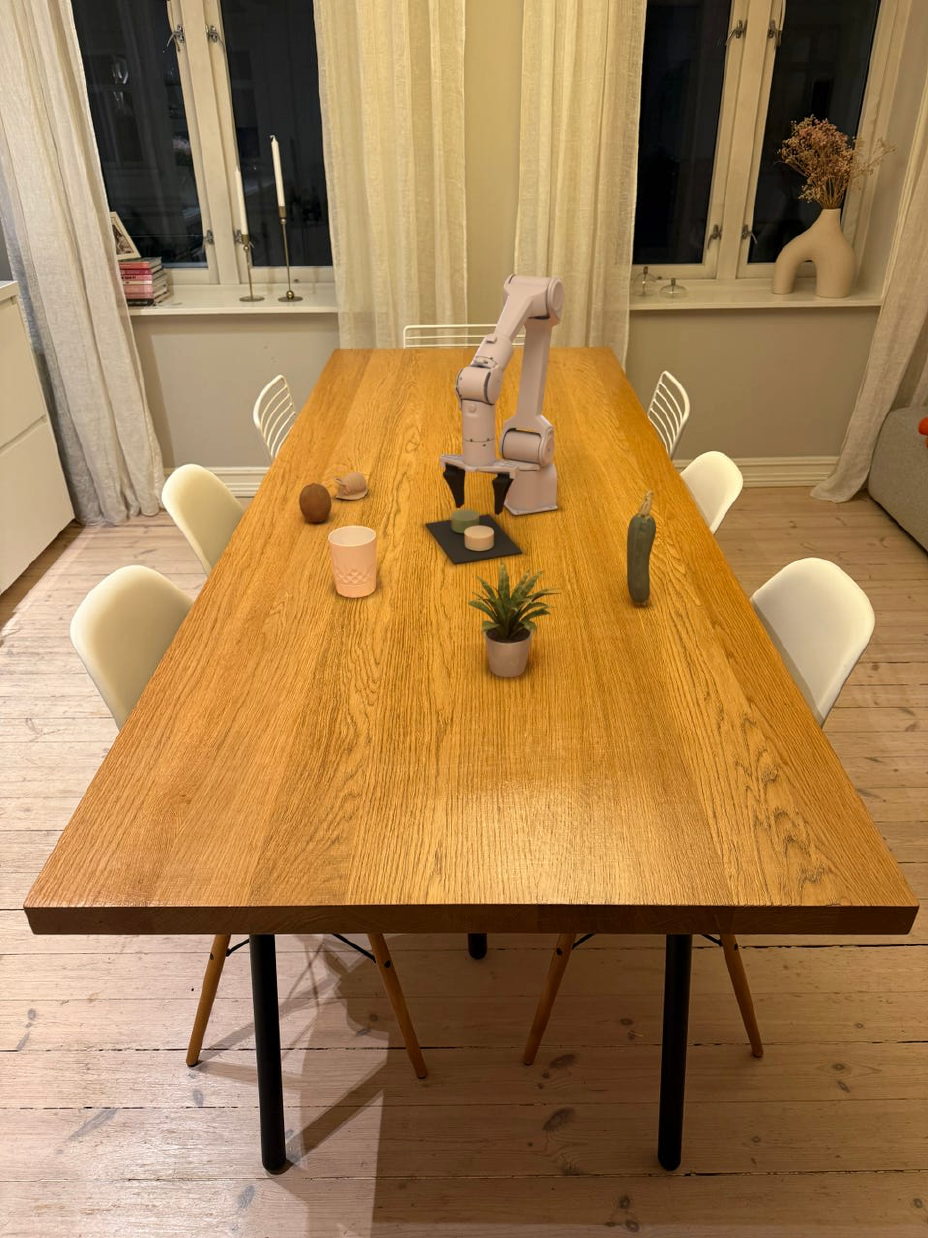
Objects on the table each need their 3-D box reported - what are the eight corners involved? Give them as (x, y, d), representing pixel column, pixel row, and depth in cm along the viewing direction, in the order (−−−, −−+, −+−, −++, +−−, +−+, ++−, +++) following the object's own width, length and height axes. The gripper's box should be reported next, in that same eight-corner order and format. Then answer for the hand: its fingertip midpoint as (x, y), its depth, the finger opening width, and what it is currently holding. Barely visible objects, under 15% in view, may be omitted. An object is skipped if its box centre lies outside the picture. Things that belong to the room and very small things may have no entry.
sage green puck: (474, 521, 186) (474, 507, 184) (483, 532, 181) (483, 518, 180) (447, 525, 184) (447, 511, 183) (456, 536, 180) (456, 522, 178)
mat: (488, 515, 189) (488, 514, 189) (522, 553, 174) (522, 551, 174) (425, 525, 185) (425, 523, 185) (454, 564, 171) (454, 562, 170)
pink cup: (386, 581, 165) (383, 528, 160) (367, 603, 159) (364, 548, 154) (345, 575, 168) (340, 523, 163) (324, 596, 161) (319, 542, 156)
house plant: (524, 711, 132) (527, 607, 123) (440, 682, 138) (437, 582, 130) (571, 663, 142) (576, 564, 134) (490, 638, 148) (491, 543, 140)
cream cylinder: (483, 537, 179) (483, 523, 178) (499, 547, 176) (499, 533, 174) (458, 544, 177) (458, 530, 176) (475, 555, 173) (475, 540, 172)
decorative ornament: (373, 494, 199) (371, 470, 196) (339, 505, 195) (337, 480, 192) (362, 489, 202) (360, 465, 199) (328, 499, 197) (326, 474, 195)
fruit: (339, 520, 188) (336, 482, 184) (314, 530, 184) (311, 492, 180) (319, 512, 192) (315, 474, 188) (294, 522, 188) (290, 483, 184)
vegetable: (632, 613, 155) (641, 498, 145) (616, 602, 158) (624, 489, 148) (654, 607, 156) (665, 493, 146) (638, 596, 160) (648, 483, 150)
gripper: (430, 438, 165) (433, 511, 172) (508, 449, 160) (507, 524, 167) (448, 426, 171) (450, 496, 178) (524, 436, 166) (523, 509, 172)
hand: (479, 509), depth 173 cm, fingers open, 7 cm apart
